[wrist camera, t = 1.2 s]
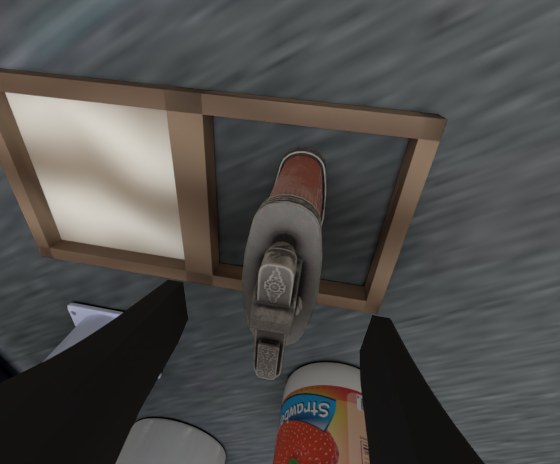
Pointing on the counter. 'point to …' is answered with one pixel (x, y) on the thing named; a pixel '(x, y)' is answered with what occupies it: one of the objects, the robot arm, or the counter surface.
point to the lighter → (285, 259)
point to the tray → (170, 173)
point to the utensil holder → (169, 444)
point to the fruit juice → (322, 417)
